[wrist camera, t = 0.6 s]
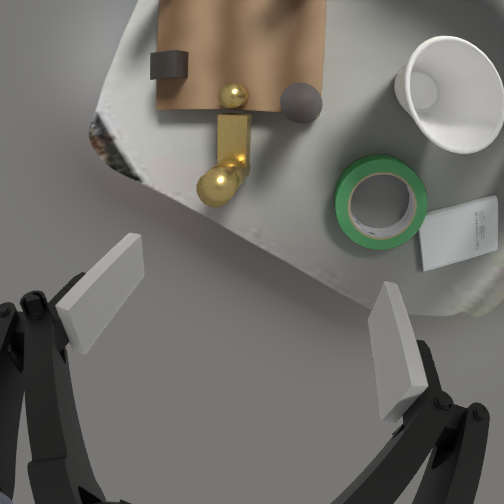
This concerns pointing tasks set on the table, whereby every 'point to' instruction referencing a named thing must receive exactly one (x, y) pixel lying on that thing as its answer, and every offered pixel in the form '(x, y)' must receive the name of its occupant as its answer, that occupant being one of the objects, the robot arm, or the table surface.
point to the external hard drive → (459, 233)
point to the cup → (452, 94)
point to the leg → (228, 150)
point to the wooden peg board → (241, 54)
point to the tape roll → (387, 235)
